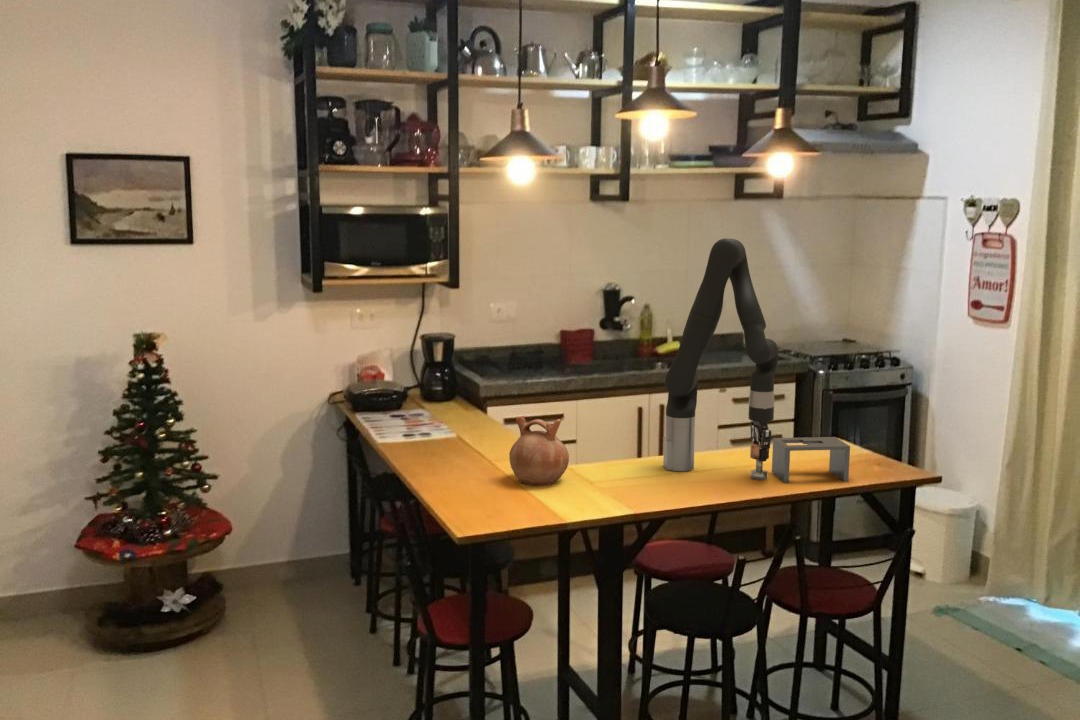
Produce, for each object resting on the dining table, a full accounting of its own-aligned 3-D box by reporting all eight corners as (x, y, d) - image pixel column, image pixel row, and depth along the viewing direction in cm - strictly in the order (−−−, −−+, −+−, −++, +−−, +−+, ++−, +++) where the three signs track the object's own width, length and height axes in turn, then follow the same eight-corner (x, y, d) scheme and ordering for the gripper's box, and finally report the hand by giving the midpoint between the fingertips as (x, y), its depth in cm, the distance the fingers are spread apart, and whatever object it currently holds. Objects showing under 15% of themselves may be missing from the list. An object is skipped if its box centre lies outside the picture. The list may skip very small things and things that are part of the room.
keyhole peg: (752, 480, 294) (753, 447, 292) (747, 475, 300) (748, 442, 298) (770, 480, 294) (771, 446, 293) (765, 475, 300) (766, 442, 298)
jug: (579, 477, 298) (580, 414, 295) (550, 492, 282) (550, 426, 279) (528, 469, 307) (528, 408, 304) (497, 483, 292) (497, 419, 288)
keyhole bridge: (783, 482, 292) (785, 447, 290) (771, 472, 303) (773, 438, 302) (848, 481, 293) (850, 446, 291) (833, 470, 305) (835, 436, 303)
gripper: (742, 400, 300) (741, 452, 303) (756, 409, 286) (754, 465, 289) (766, 399, 301) (764, 452, 303) (781, 409, 287) (778, 464, 289)
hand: (759, 458), depth 296 cm, fingers closed on keyhole peg, 5 cm apart
